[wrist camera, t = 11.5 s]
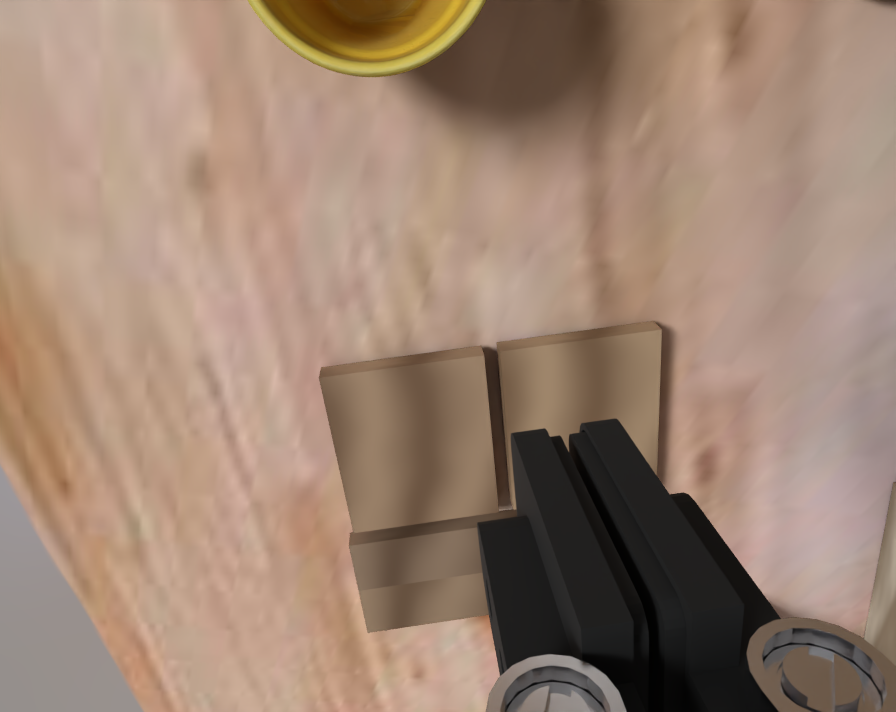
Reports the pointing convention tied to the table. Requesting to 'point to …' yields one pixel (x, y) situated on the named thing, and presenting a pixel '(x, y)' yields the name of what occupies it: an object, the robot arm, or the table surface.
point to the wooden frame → (885, 591)
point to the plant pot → (368, 31)
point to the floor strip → (421, 572)
